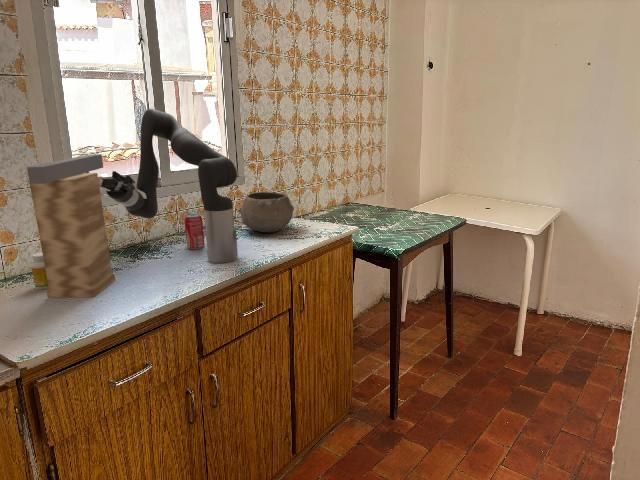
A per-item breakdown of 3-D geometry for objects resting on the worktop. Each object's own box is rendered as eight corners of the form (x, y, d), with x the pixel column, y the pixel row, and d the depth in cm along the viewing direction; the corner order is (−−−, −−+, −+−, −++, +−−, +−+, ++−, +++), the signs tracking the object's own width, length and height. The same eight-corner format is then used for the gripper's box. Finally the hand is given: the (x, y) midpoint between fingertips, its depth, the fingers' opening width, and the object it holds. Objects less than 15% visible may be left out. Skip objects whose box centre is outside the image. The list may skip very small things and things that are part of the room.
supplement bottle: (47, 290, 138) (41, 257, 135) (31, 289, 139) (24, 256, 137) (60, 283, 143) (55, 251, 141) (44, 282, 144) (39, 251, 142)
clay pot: (266, 222, 210) (264, 188, 206) (304, 229, 199) (303, 192, 195) (230, 233, 194) (227, 196, 190) (269, 241, 182) (267, 201, 178)
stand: (115, 280, 145) (99, 172, 136) (94, 297, 132) (75, 179, 124) (72, 280, 145) (54, 173, 137) (47, 297, 133) (25, 180, 124)
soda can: (192, 251, 172) (188, 218, 169) (183, 247, 177) (180, 215, 173) (207, 247, 176) (205, 215, 173) (199, 244, 181) (196, 212, 177)
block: (103, 167, 147) (101, 154, 146) (45, 183, 118) (42, 167, 117) (90, 167, 147) (88, 154, 146) (29, 183, 119) (26, 167, 118)
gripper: (103, 182, 166) (78, 163, 150) (144, 181, 165) (123, 162, 150) (101, 203, 164) (75, 186, 148) (142, 202, 163) (121, 185, 148)
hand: (99, 174), depth 149 cm, fingers open, 8 cm apart
